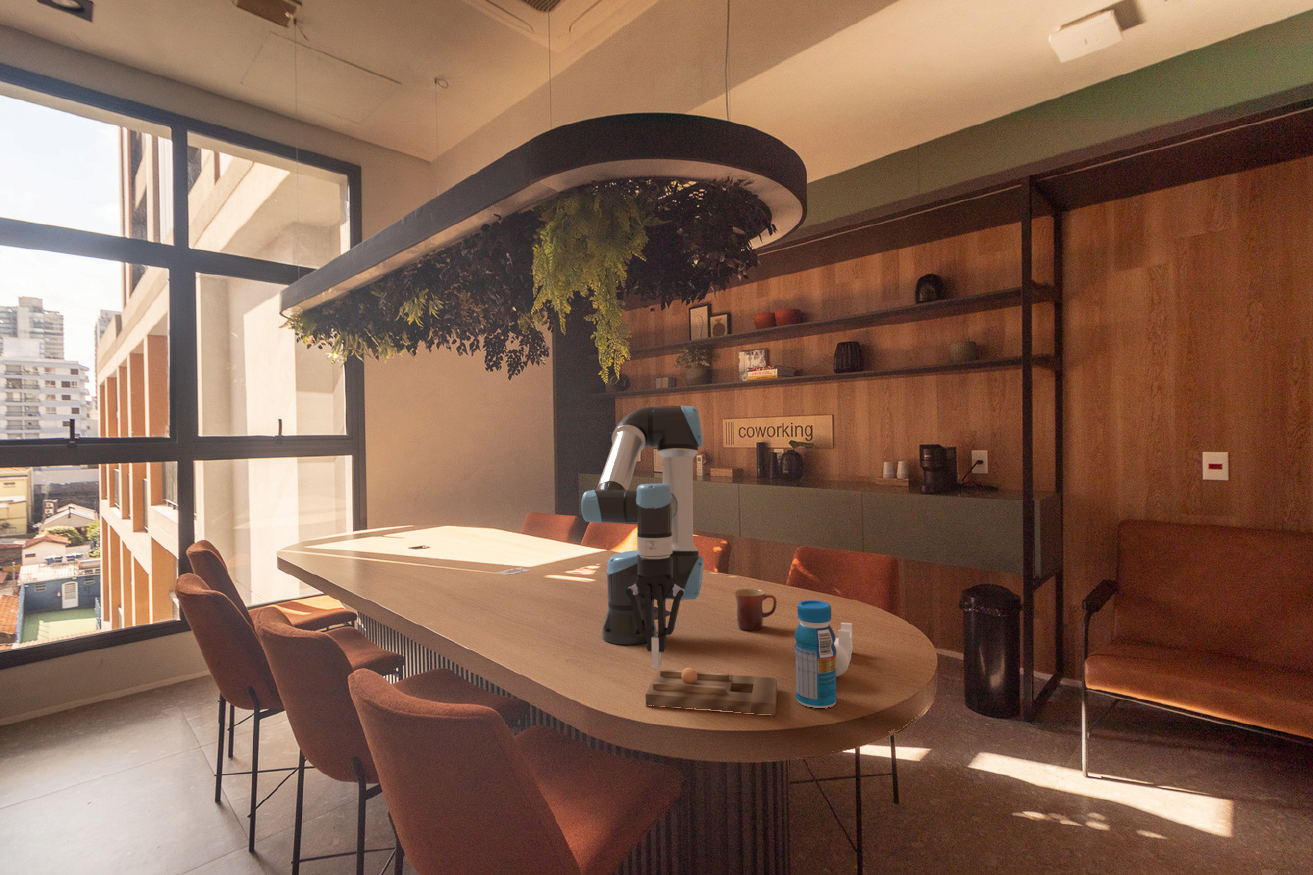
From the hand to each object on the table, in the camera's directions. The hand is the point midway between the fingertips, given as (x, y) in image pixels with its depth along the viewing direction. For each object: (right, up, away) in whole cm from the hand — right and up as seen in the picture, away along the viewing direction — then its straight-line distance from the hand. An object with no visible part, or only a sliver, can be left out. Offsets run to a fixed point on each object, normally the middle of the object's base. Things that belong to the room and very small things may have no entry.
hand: (656, 666), depth 129 cm
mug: (+29, -6, +44) cm, 53 cm away
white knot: (+37, -6, +6) cm, 38 cm away
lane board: (+12, -6, -2) cm, 13 cm away
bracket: (+42, -6, +22) cm, 48 cm away
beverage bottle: (+33, -6, -5) cm, 34 cm away
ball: (+7, -2, -1) cm, 7 cm away
